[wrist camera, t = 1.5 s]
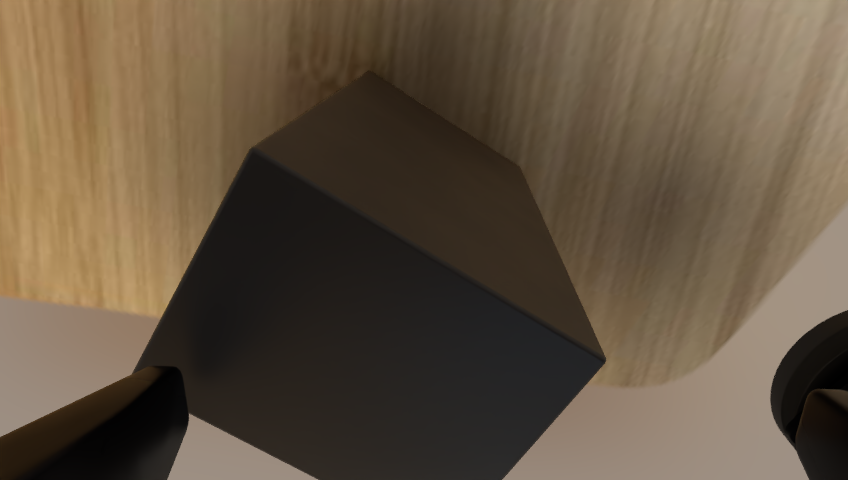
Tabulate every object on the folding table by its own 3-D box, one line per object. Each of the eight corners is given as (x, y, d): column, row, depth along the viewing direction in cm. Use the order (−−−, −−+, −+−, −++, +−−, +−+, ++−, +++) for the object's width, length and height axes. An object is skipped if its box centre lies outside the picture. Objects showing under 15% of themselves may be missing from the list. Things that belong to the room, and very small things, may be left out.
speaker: (522, 168, 20) (613, 362, 9) (450, 269, 21) (448, 548, 10) (369, 69, 19) (250, 145, 8) (304, 182, 20) (126, 383, 9)
